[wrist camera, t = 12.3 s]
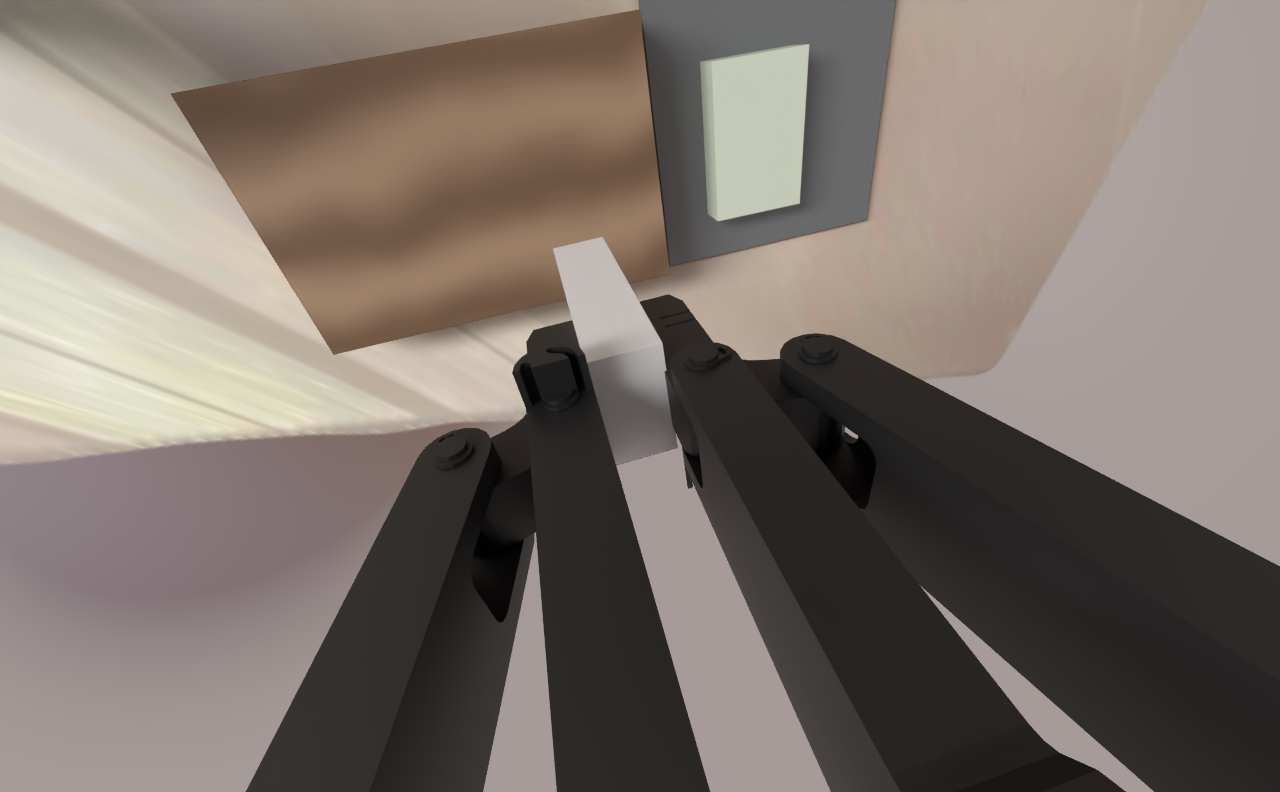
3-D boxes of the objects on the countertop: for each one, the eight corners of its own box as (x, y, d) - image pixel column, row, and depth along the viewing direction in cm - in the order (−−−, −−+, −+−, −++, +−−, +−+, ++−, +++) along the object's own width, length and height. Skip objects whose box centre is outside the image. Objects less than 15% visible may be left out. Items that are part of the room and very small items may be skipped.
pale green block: (809, 44, 28) (792, 44, 30) (711, 61, 27) (699, 61, 29) (799, 203, 33) (785, 196, 35) (717, 221, 33) (707, 213, 34)
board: (212, 89, 25) (170, 93, 22) (623, 15, 27) (639, 9, 24) (349, 326, 33) (333, 354, 30) (654, 254, 35) (669, 273, 32)
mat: (637, -11, 27) (639, -12, 26) (898, -56, 28) (903, -58, 28) (669, 264, 36) (670, 266, 36) (863, 218, 38) (866, 219, 37)
